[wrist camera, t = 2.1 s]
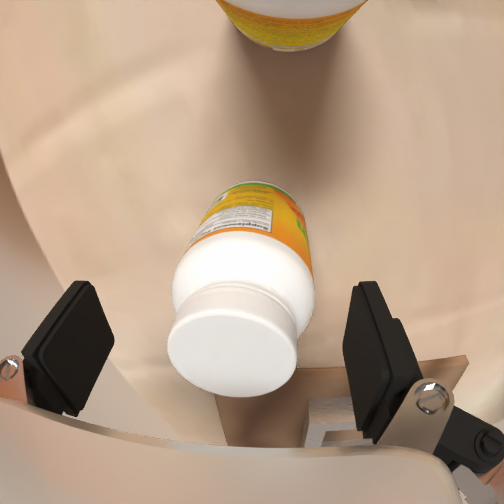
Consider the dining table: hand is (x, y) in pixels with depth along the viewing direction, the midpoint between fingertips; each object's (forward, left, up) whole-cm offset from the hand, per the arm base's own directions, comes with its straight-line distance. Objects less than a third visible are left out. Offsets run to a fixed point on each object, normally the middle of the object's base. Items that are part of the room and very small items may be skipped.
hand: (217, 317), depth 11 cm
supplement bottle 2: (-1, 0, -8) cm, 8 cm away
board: (-8, +19, -8) cm, 22 cm away
